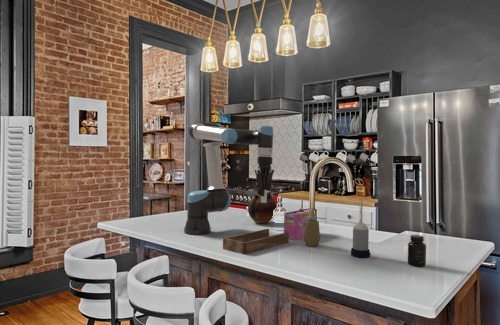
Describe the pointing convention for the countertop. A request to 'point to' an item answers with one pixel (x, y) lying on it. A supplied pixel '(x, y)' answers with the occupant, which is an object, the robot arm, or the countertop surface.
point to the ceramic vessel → (261, 208)
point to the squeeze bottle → (312, 230)
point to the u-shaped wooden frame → (254, 241)
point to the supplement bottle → (417, 251)
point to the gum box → (295, 223)
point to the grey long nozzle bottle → (360, 238)
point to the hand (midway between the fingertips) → (263, 202)
